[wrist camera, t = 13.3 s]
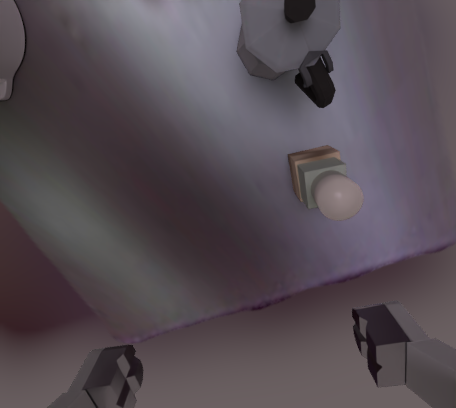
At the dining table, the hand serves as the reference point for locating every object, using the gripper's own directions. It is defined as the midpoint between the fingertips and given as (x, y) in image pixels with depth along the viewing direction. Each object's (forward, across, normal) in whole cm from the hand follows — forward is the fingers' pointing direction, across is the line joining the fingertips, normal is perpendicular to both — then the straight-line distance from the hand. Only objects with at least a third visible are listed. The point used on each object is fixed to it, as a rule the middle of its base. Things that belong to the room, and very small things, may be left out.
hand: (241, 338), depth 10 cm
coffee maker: (+34, -8, -12) cm, 37 cm away
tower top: (+29, -11, +5) cm, 32 cm away
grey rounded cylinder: (+25, -11, +5) cm, 28 cm away
